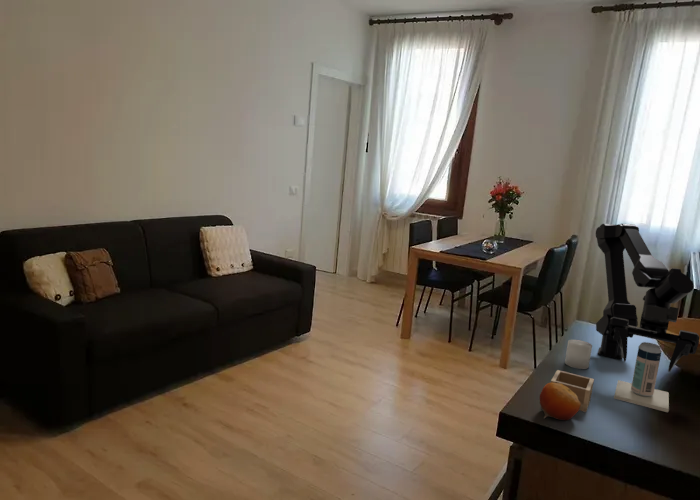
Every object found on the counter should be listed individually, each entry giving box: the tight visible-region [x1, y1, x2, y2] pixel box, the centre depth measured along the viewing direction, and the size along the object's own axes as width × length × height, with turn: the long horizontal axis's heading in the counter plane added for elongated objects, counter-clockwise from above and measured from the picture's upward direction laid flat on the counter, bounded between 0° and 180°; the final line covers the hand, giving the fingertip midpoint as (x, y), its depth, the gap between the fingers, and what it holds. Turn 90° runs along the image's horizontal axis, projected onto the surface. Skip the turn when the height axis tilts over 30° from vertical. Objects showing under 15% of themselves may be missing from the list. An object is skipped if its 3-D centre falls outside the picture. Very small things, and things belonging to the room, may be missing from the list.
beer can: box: [631, 341, 662, 397], centre depth 127 cm, size 5×5×12 cm
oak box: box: [550, 369, 595, 413], centre depth 122 cm, size 8×8×5 cm
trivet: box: [613, 379, 670, 413], centre depth 128 cm, size 11×11×1 cm
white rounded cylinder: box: [564, 339, 593, 370], centre depth 145 cm, size 6×6×6 cm
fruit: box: [539, 381, 581, 421], centre depth 114 cm, size 8×8×8 cm
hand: (646, 365), depth 126 cm, fingers open, 9 cm apart
